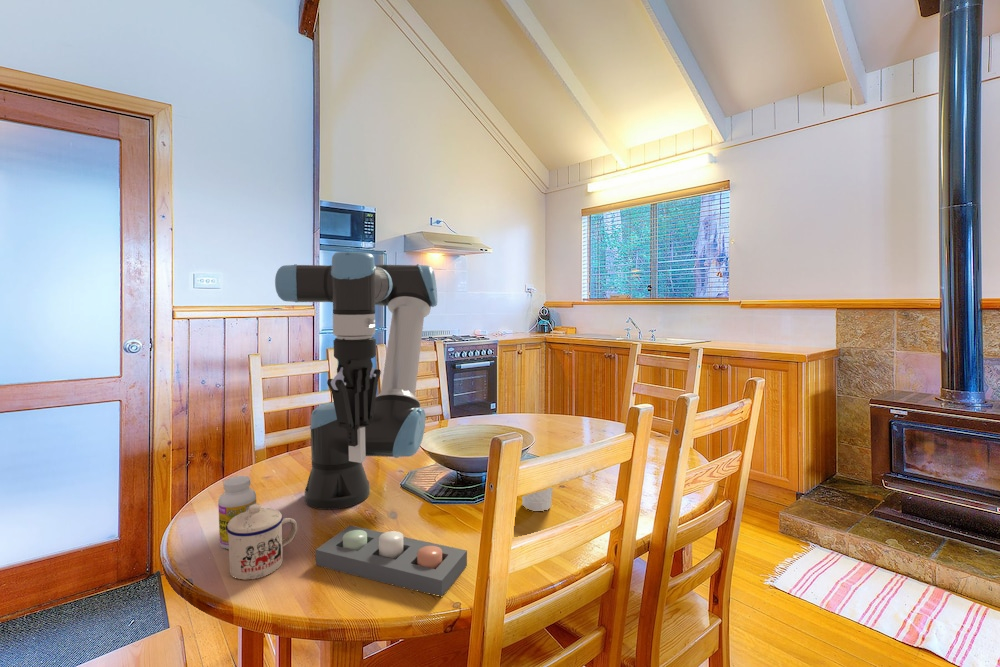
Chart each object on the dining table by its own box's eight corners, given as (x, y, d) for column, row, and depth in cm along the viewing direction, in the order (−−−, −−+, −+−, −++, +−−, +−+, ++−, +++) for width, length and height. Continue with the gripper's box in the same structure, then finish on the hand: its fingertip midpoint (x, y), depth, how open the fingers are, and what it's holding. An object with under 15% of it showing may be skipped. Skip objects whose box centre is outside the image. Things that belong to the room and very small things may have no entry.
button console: (315, 565, 89) (315, 549, 89) (350, 539, 99) (350, 525, 98) (441, 597, 80) (441, 580, 80) (466, 565, 90) (467, 550, 89)
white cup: (551, 515, 110) (552, 472, 110) (517, 511, 112) (518, 469, 111) (554, 500, 118) (555, 460, 117) (522, 497, 120) (523, 458, 119)
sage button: (338, 556, 91) (337, 538, 91) (353, 545, 95) (352, 528, 95) (357, 561, 89) (357, 543, 89) (371, 549, 94) (371, 532, 93)
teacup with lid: (239, 588, 82) (236, 522, 81) (221, 567, 89) (218, 505, 87) (307, 560, 91) (306, 500, 90) (287, 542, 97) (285, 486, 96)
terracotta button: (412, 574, 85) (412, 556, 85) (425, 561, 90) (424, 543, 89) (434, 580, 84) (434, 561, 84) (446, 566, 88) (446, 548, 88)
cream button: (374, 559, 88) (373, 540, 88) (387, 547, 92) (387, 529, 92) (395, 564, 87) (394, 545, 86) (408, 551, 91) (407, 533, 90)
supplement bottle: (211, 548, 95) (209, 484, 94) (237, 532, 101) (234, 472, 100) (241, 553, 93) (238, 488, 92) (265, 536, 100) (262, 475, 99)
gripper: (348, 341, 82) (351, 476, 85) (392, 334, 94) (393, 452, 97) (313, 339, 85) (317, 469, 87) (359, 332, 97) (362, 447, 99)
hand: (357, 460), depth 92 cm, fingers closed
